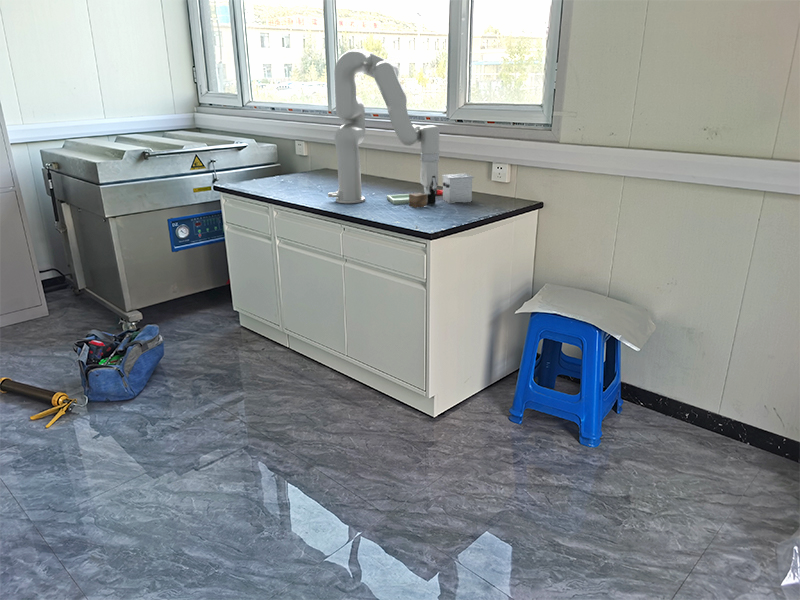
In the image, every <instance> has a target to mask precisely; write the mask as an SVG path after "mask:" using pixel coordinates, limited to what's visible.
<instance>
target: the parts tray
mask: <svg viewBox="0 0 800 600" xmlns="http://www.w3.org/2000/svg"><path fill="white" fill-rule="evenodd" d="M409 194H410V193H404V194H403V193H401V194H389V195H388V194H387V195H386V200H387V201H388V202H390V203H391V204H392V203H393V204H392V205H394V204H396V205H407V204H406V203H409Z"/></svg>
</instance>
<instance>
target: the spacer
mask: <svg viewBox="0 0 800 600" xmlns="http://www.w3.org/2000/svg"><path fill="white" fill-rule="evenodd" d="M430 189H431V188H430ZM423 194H426V206H434V205H433V204H428V194H429V191H428V187H424V186H423Z"/></svg>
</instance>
